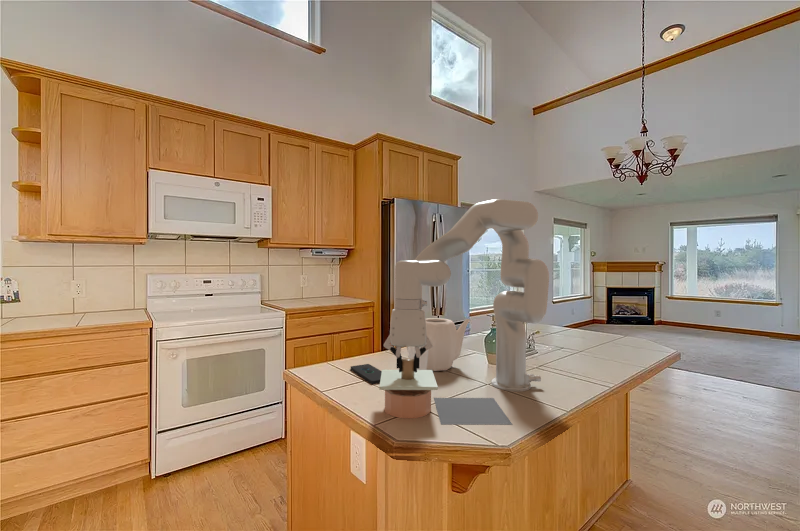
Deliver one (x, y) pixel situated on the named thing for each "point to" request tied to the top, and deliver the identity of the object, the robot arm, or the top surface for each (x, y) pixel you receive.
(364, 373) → the smart home device
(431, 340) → the watering can
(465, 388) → the top surface
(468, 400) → the mat
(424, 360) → the drinking glass
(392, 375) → the cover sheet
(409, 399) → the bowl
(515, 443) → the top surface
